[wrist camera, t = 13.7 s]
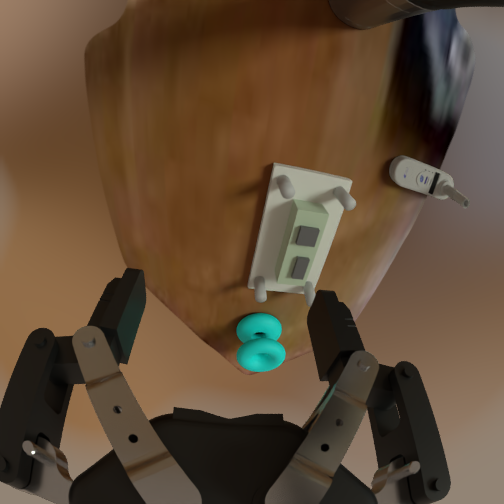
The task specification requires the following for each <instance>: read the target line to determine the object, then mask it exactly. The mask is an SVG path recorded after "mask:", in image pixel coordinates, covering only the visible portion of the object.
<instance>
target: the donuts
mask: <svg viewBox="0 0 504 504" xmlns="http://www.w3.org/2000/svg"><path fill="white" fill-rule="evenodd" d="M281 331H282V327H281V324H280V322H279V321H278V319H276V318H275V317H274V316H272V315H269V314H265V313H255V314H251V315H248V316H246V317H244V318H243V319H242V320H241V321H240V322H239V324H238V326H237V330H236V332H237V336H238V338H239V339H240V340H241V341H242V342H243V343H244V344H243V345H241V346H240V348H239V349H238V351H237V361H238V363H239V364H240V365H241V366H242V367H243V368H245V369H247V370H250V371H255V372H264V371H269V370H272V369H274V368H276V367H278V366H279V365H280V364H282V362H283V361H284V359H285V349H284V347H283V346H282V345H281V344H280V343H279V342H277V341H276V340H277V339H278V338H279V337H280V334H281ZM258 332H263V333H262V334H255V333H258Z"/></svg>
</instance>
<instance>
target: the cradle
mask: <svg viewBox="0 0 504 504" xmlns="http://www.w3.org/2000/svg"><path fill="white" fill-rule="evenodd" d="M351 185H352V181H351V180H350V179H349V178H345V177H341V176H336V175H332V174H328V173H323V172H319V171H314V170H309V169H305V168H300V167H295V166H289V165H284V164H279V163H274V164H273V168H272V173H271V178H270V182H269V187H268V192H267V196H266V201H265V206H264V210H263V215H262V220H261V224H260V229H259V234H258V238H257V243H256V247H255V252H254V257H253V261H252V266H251V271H250V275H249V280H248V288H250V289H255V300H256V301H257V302H264V301H266V299H267V296H266V290H269V291H279V292H290V293H301V294H304V295H305V298H306V302H307V305H308V306H310V307H311V305H312V303H313V300H314V298H315V295H316V294H315V291H314V288H315V286H316V283H317V281H318V278H319V276H320V273H321V270H322V268H323V265H324V263H325V260H326V257H327V255H328V252H329V249H330V246H331V244H332V241H333V238H334V235H335V233H336V230H337V227H338V224H339V221H340V218H341V215H342V212H343V209H344V208H345V209H346V210H352V209H353V208H354V207H355V205H356V202H355V200H354V199H353V198H352V197H351V195H350V194H349V191H350V188H351ZM293 199H297V200H303V201H308V202H313V203H319V204H323V206H324V207H325V209H326V211H327V212H328V214H329V217H328V220H327V223H326V226H325V229H324V232H323V235H322V238H321V241H320V244H319V247H318V250H317V253H316V255H315V258H314V261H313V264H312V267H311V269H310V272H309V275H308V278H307V280H306V283H305V286H296V285H287V284H277V282H276V276H275V270H274V269H275V265H276V262H277V258H278V255H279V251H280V247H281V244H282V240H283V236H284V233H285V229H286V225H287V221H288V218H289V214H290V210H291V206H292V202H293Z"/></svg>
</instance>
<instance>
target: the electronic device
mask: <svg viewBox="0 0 504 504" xmlns="http://www.w3.org/2000/svg"><path fill="white" fill-rule="evenodd" d="M389 174H390V177H391V179H392V180H393V181H394V182H395V183H396V184H398V185H399V186H401V187H404V188H407V189H410V190H414V191H417V192H420V193H423V194H426V195H428V196H431V197H434V198H437V199H441V200H444V199H447V198H448V197H450V198H451V199H452V200H454V201H456V202H457V203H459V204H460V205H461V206H462V207H464V208H467V207H468V206H469V204H470V201H469V199H468V198H466V197H465V196H464V195H462V194H461V193H460V192H459V191H458V190H456V189H454V182H453V179H452V177H451V176H450V175H449V174H447V173H445V172H443V171H441V170H439V169H437V168H434V167H432V166H430V165H427V164H425V163H422V162H420V161H417V160H415V159H412V158H409V157H407V156H398V157H396V158H395V159H394V160H393V161H392V163H391V165H390V168H389Z"/></svg>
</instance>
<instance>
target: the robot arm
mask: <svg viewBox="0 0 504 504" xmlns="http://www.w3.org/2000/svg"><path fill="white" fill-rule="evenodd" d="M329 4H330V7H331V9H332V10H333V12H334V13H335V15H336V16H337V17H338V18H339V19H340V20H341V21H343V22H344V23H346V24H347V25H349V26H352V27H354V28H358V29H371V28H374V27H377V26H380V25H383V24H386V23H390V22H393V21H396V20H400V19H403V18H407V17H410V16H414V15H418V14H422V13H426V12H430V11H435V10H440V9H453V8H460V7H475V6H476V7H477V6H478V7H479V6H481V7H484V6H488V7H489V6H490V7H504V0H329ZM145 304H146V289H145V279H144V271H143V270H139V269H132V268H127V269H126V270H125V272H124V274H123V276H122V278H114V279H113V280H112V281H111V282H109V283H108V284H107V286H106V288H105V290H104V292H103V294H102V296H101V298H100V301H99V302H98V304H97V306H96V308H95V310H94V312H93V314H92V316H91V319H90V321H89V323H88V325H87V326H85V327H82V328H80V329H79V330H77V331H76V333H75V334H74V335H73V336H63V337H55V336H54V334H53V332H52V331H51V330H49V329H47V328H39V329H36V330H34V331H33V332H32V333H31V334H30V335H29V336H28V338H27V340H26V343H25V345H24V347H23V349H22V351H21V354H20V356H19V358H18V361H17V363H16V366H15V368H14V371H13V373H12V376H11V378H10V381H9V384H8V387H7V389H6V392H5V395H4V398H3V401H2V404H1V408H0V481H1V482H3V483H5V484H8V485H10V486H12V487H13V488H15V489H18V490H21V491H23V492H26V493H29V494H33V495H37V496H39V497H42V498H44V499H46V500H48V501H51V502H53V503H56V504H430V503H433V502H436V501H439V500H441V499H442V498H444V497H445V496H446V495H447V494H448V492H449V490H450V485H451V481H450V475H449V471H448V467H447V462H446V458H445V454H444V450H443V446H442V442H441V439H440V435H439V431H438V428H437V424H436V421H435V418H434V415H433V411H432V408H431V405H430V402H429V399H428V396H427V393H426V391H425V388H424V385H423V382H422V379H421V377H420V374H419V371H418V370H417V368H416V367H415V366H414V365H413V364H411V363H410V362H406V361H401V362H399V363H398V364H397V365H396V366H395V367H389V366H386V365H382V364H379V363H378V361H377V359H376V358H375V357H374V356H373V355H372V354H371V353H369V352H366V351H365V349H364V346H363V343H362V340H361V338H360V335H359V333H358V330H357V327H355V326H356V325H355V322H354V320H353V317H352V314H351V312H350V310H349V309H348V307H347V306H346V305H345V304H344V303H343V302H339V301H338V298H337V296H336V293H335V292H334V291H328V290H318V291H317V293H316V295H315V298H314V300H313V303H312V305H311V307H310V310H309V312H308V316H307V325H308V330H309V334H310V338H311V343H312V347H313V351H314V356H315V360H316V365H317V369H318V374H319V379H320V381H329V385H330V386H329V387H328V388H327V390H326V392H325V393H324V395H323V397H322V398H321V400H320V401H319V403H318V405H317V406H316V408H315V410H314V411H313V413H312V414H311V416H310V417H309V419H308V420H307V421H306V423H305V424H304V425H303V427H302V428H301V427H299V426H298V425H295V424H293V423H290V422H287V421H284V420H283V414H254V415H249V416H244V417H238V418H232V419H227V418H223V417H220V416H216V415H214V414H210V413H207V412H204V411H201V410H193V409H185V408H177V407H174V411H173V413H172V414H165V415H161V416H158V417H155V418H153V419H151V420H149V421H148V419H147V418H146V416H145V414H144V413H143V411H142V409H141V407H140V405H139V404H138V402H137V400H136V398H135V397H134V395H133V393H132V391H131V389H130V387H129V385H128V383H127V381H126V379H125V378H124V376H123V374H122V372H121V371H120V369H119V364H120V363H123V364H127V363H128V360H129V356H130V353H131V350H132V346H133V343H134V340H135V337H136V333H137V330H138V327H139V324H140V321H141V317H142V315H143V312H144V308H145ZM74 384H86V390H87V393H88V395H89V398H90V400H91V402H92V405H93V407H94V409H95V412H96V414H97V416H98V418H99V421H100V423H101V425H102V427H103V429H104V431H105V433H106V435H107V437H108V439H109V441H110V443H111V445H112V447H113V450H111V451H110V452H109V453H108V454H106V455H105V456H104V457H103V458H101V459H100V460H99V461H98V462H96V463H95V464H94V465H92V466H91V467H90V468H88V469H87V470H86V471H84V472H83V473H82V474H80V475H79V476H78V477H77V478H76V479H75V480H74V481H73V480H72V479H71V477H70V475H69V472H68V462H67V459H66V457H65V455H64V453H63V452H62V451H61V450H59V447H60V442H61V437H62V431H63V427H64V422H65V417H66V413H67V409H68V405H69V401H70V397H71V393H72V390H73V386H74ZM396 404H397V407H396ZM397 408H398V410H397ZM366 410H368V414H369V419H370V423H371V429H372V434H373V439H374V445H375V450H376V456H377V462H378V468H379V469H378V470H377V471H376V472H375V474H374V477H373V481H372V483H371V485H372V489H370V488H368V487H367V486H366V485H365V484H364V483H363V482H361V481H360V480H359V479H358V478H357V477H355V476H354V475H353V474H352V473H351V472H350V471H349V470H347V469H346V468H345V467H344V466H343V465H342V464H341V461H342V459H343V458H344V456H345V454H346V452H347V450H348V448H349V446H350V444H351V442H352V440H353V438H354V436H355V434H356V432H357V430H358V428H359V425H360V424H361V421H362V419H363V417H364V415H365V413H366ZM398 411H399V414H398ZM399 416H400V418H399Z"/></svg>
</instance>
